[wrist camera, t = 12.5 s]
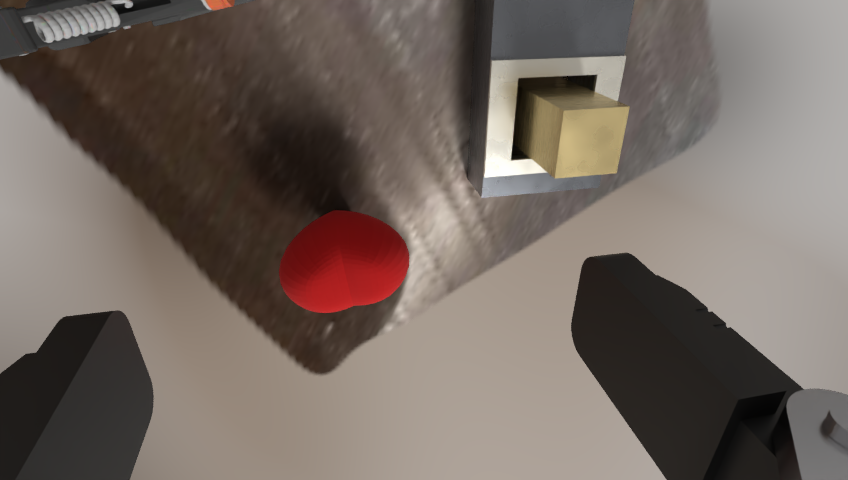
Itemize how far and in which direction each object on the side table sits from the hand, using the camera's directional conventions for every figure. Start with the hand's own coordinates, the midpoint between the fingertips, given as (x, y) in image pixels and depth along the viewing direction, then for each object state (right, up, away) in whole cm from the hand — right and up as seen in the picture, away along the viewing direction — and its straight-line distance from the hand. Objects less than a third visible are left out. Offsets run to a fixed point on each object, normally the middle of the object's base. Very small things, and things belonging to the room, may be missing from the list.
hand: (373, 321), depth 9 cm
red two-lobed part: (-6, +3, +32) cm, 33 cm away
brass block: (+9, +12, +31) cm, 34 cm away
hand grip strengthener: (-15, +17, +22) cm, 32 cm away
